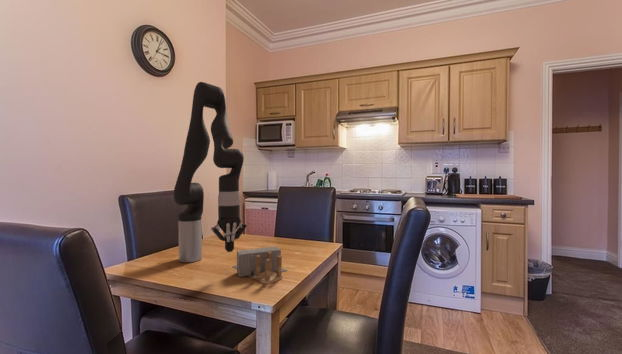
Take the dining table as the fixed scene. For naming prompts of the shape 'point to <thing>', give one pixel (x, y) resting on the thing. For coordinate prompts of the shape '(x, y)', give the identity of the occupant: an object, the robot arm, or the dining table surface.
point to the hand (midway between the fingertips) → (229, 251)
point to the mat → (253, 275)
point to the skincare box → (248, 260)
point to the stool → (268, 270)
